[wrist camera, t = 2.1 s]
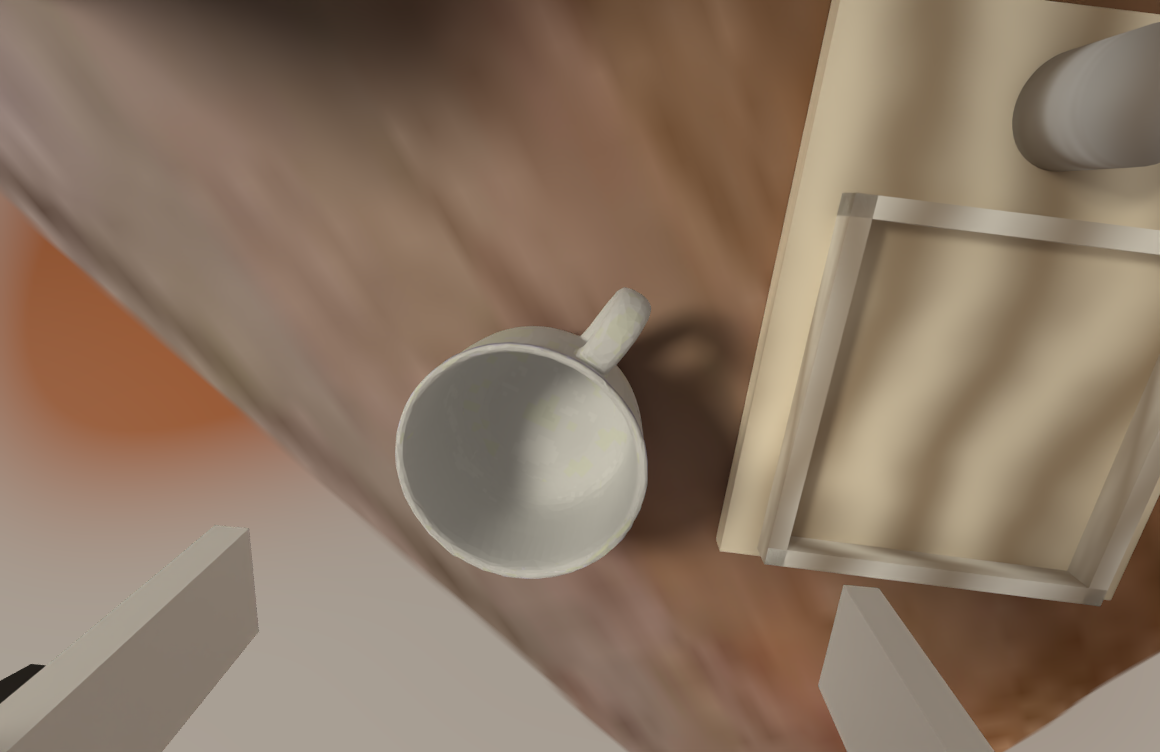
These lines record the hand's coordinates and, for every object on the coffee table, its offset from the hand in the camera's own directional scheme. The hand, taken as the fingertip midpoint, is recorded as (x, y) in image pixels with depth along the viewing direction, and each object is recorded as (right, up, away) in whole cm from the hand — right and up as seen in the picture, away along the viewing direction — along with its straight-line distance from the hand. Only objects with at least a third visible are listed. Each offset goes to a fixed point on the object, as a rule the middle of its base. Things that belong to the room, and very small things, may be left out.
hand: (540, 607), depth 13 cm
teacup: (0, +5, +19) cm, 19 cm away
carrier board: (+21, +8, +17) cm, 28 cm away
